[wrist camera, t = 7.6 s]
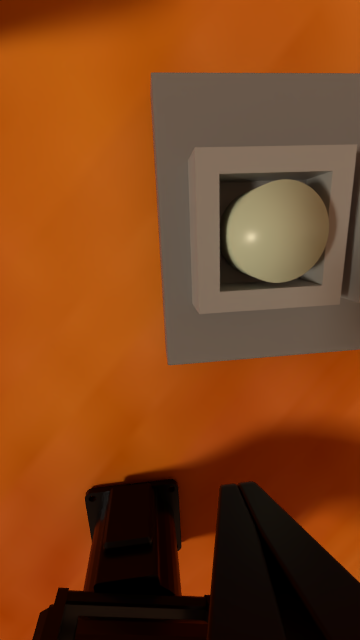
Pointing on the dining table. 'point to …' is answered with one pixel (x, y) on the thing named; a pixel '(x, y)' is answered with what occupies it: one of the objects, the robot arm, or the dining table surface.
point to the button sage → (275, 231)
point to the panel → (238, 178)
